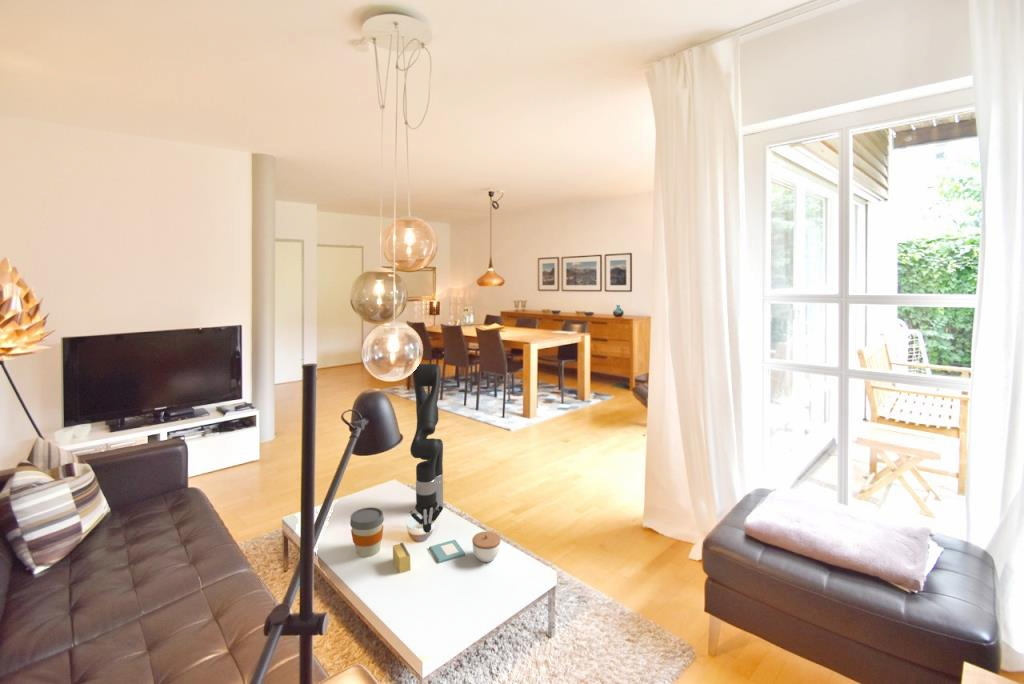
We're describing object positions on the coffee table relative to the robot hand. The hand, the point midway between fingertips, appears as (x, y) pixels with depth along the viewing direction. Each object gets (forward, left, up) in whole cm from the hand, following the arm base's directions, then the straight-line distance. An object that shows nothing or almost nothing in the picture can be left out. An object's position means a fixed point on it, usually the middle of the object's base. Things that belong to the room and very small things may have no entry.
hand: (427, 531), depth 186 cm
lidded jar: (+11, +20, -11) cm, 25 cm away
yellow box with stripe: (0, -10, -11) cm, 15 cm away
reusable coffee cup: (-15, -19, -11) cm, 27 cm away
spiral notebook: (0, +8, -11) cm, 13 cm away
